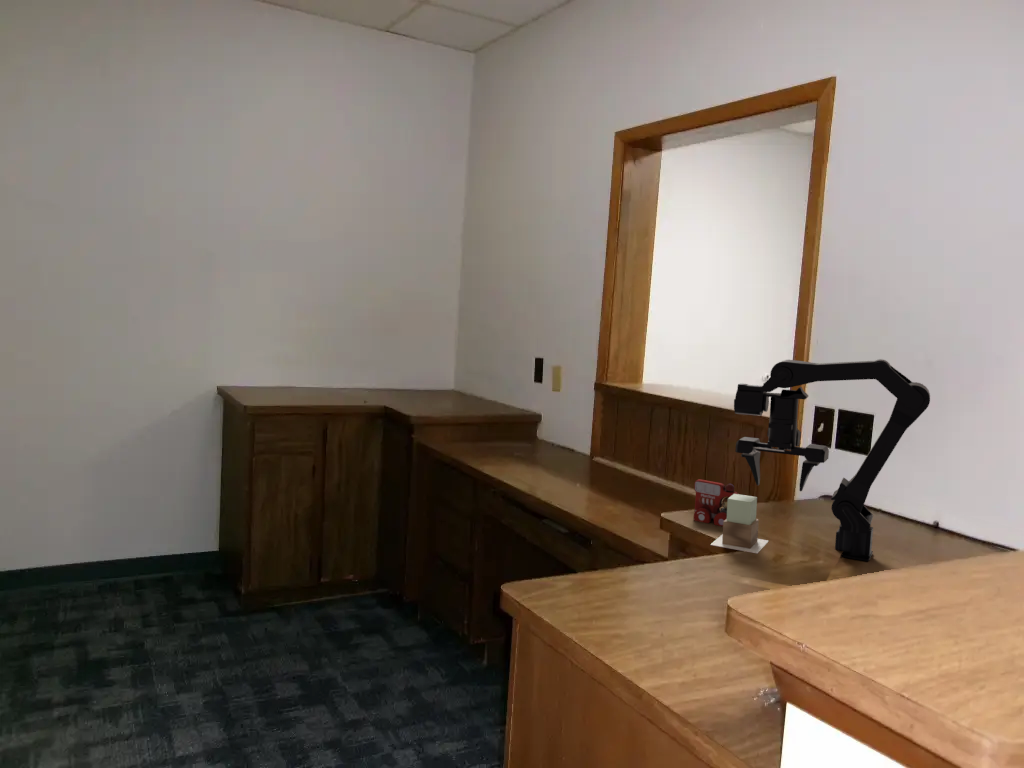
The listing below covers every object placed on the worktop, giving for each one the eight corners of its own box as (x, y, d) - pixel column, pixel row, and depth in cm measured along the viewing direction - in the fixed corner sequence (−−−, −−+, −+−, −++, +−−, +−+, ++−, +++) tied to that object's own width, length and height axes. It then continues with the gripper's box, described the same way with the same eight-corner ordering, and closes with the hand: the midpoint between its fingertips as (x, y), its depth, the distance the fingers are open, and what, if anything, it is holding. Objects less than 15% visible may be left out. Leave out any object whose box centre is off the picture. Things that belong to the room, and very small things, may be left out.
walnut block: (757, 541, 175) (758, 519, 174) (750, 548, 169) (751, 526, 169) (730, 536, 178) (731, 514, 177) (722, 543, 173) (723, 521, 172)
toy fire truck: (736, 534, 183) (738, 489, 182) (686, 523, 191) (688, 480, 190) (748, 527, 189) (750, 484, 187) (699, 517, 196) (701, 475, 195)
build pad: (768, 545, 175) (769, 540, 175) (757, 557, 167) (757, 553, 167) (723, 537, 180) (723, 532, 180) (710, 549, 172) (710, 544, 172)
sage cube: (749, 525, 169) (751, 502, 169) (726, 521, 172) (727, 498, 171) (755, 519, 174) (757, 497, 173) (733, 515, 176) (734, 493, 176)
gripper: (835, 417, 176) (830, 486, 177) (750, 409, 185) (746, 475, 187) (826, 424, 166) (821, 497, 168) (736, 415, 176) (732, 484, 178)
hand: (779, 487), depth 175 cm, fingers open, 9 cm apart
